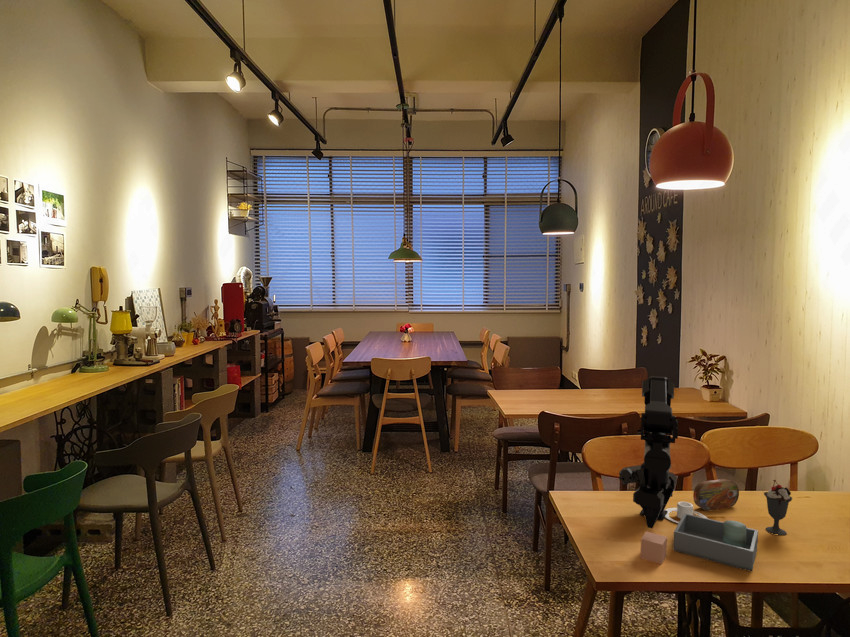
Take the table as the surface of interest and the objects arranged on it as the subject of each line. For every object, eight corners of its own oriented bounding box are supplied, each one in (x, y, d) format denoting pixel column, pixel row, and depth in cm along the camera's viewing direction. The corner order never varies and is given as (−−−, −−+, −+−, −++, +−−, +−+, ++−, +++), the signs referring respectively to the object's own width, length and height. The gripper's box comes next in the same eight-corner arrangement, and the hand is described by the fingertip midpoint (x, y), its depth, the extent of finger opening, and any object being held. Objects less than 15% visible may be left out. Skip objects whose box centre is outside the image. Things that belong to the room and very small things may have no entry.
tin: (698, 512, 162) (699, 485, 161) (690, 508, 165) (691, 481, 164) (739, 506, 166) (740, 480, 165) (731, 502, 169) (732, 476, 168)
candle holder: (716, 528, 152) (717, 513, 152) (673, 528, 152) (673, 513, 152) (696, 510, 164) (696, 496, 164) (656, 509, 164) (656, 496, 164)
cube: (645, 550, 139) (646, 531, 139) (666, 556, 137) (667, 536, 136) (640, 558, 135) (641, 539, 135) (661, 564, 132) (662, 544, 132)
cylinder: (724, 545, 140) (724, 518, 140) (746, 550, 138) (747, 523, 137) (721, 553, 136) (722, 526, 136) (744, 558, 133) (745, 531, 133)
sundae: (762, 534, 148) (765, 480, 147) (760, 524, 154) (763, 472, 153) (791, 539, 145) (794, 484, 144) (788, 529, 151) (791, 476, 150)
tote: (683, 530, 150) (684, 513, 150) (757, 549, 140) (758, 530, 139) (673, 550, 139) (673, 531, 139) (752, 571, 129) (753, 551, 129)
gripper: (633, 444, 146) (631, 500, 148) (612, 463, 131) (610, 526, 132) (678, 452, 140) (676, 511, 141) (661, 473, 125) (658, 539, 126)
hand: (654, 521), depth 135 cm, fingers open, 9 cm apart
